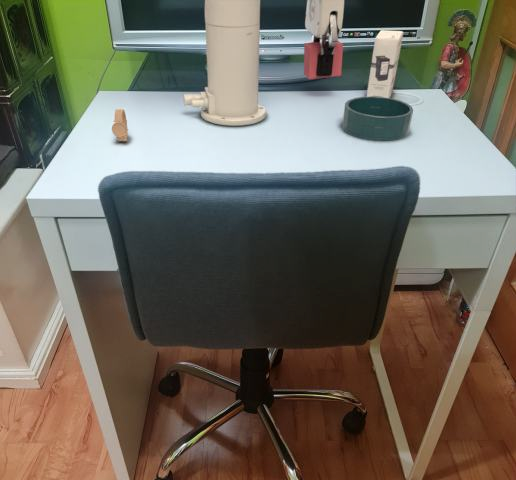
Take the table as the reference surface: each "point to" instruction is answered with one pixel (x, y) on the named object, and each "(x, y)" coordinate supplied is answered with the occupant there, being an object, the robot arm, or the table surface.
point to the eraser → (312, 54)
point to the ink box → (384, 63)
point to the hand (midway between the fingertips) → (320, 71)
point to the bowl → (377, 118)
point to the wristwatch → (120, 125)
